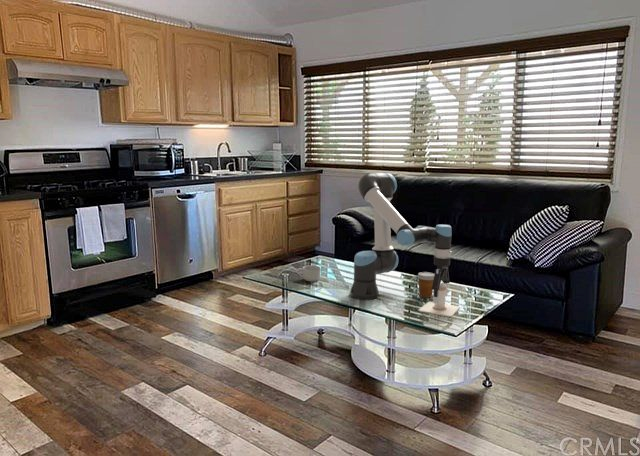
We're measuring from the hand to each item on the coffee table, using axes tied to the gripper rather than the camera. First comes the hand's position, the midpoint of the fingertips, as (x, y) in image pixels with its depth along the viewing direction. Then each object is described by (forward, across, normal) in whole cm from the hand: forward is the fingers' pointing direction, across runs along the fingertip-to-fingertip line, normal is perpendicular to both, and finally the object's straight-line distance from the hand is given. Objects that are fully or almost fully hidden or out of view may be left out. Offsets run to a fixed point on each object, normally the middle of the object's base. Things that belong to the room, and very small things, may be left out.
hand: (440, 299), depth 240 cm
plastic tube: (+4, 0, 0) cm, 4 cm away
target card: (+5, 0, 0) cm, 5 cm away
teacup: (+5, +11, +82) cm, 83 cm away
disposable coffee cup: (+5, +18, +13) cm, 23 cm away
